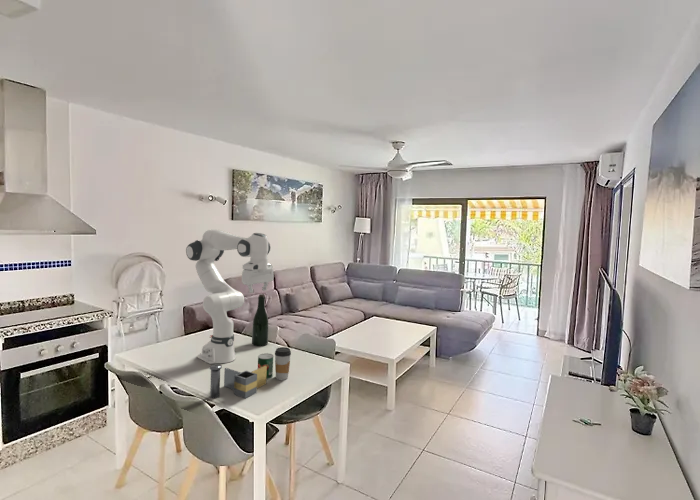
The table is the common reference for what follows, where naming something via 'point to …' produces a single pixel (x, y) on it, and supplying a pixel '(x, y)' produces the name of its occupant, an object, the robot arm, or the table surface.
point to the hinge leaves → (245, 381)
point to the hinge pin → (215, 380)
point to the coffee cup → (282, 362)
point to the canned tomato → (266, 363)
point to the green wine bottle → (260, 324)
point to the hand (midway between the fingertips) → (258, 291)
